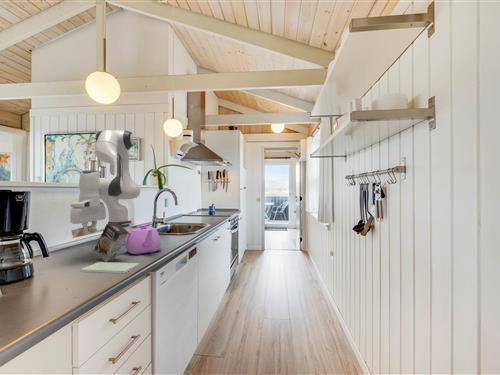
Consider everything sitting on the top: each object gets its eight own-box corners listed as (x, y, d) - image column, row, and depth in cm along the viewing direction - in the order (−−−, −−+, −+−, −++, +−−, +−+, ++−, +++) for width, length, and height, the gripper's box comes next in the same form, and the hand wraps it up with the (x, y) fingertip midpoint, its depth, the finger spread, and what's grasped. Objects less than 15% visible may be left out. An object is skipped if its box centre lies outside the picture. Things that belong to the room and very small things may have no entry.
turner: (68, 239, 127) (66, 231, 127) (81, 236, 135) (80, 228, 135) (101, 231, 123) (99, 222, 124) (113, 228, 131) (111, 220, 132)
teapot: (115, 252, 144) (115, 224, 144) (154, 246, 157) (154, 221, 157) (124, 261, 126) (124, 230, 126) (167, 254, 138) (167, 226, 138)
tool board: (98, 264, 121) (98, 262, 121) (139, 265, 119) (139, 263, 119) (80, 271, 110) (80, 269, 110) (125, 273, 108) (125, 270, 108)
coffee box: (92, 251, 126) (106, 223, 124) (103, 248, 133) (116, 221, 130) (105, 262, 124) (119, 234, 122) (115, 258, 130) (129, 231, 128)
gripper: (98, 201, 140) (98, 227, 140) (67, 203, 120) (67, 234, 120) (109, 201, 139) (109, 227, 139) (80, 204, 119) (80, 234, 119)
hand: (89, 230), depth 129 cm, fingers closed on turner, 3 cm apart
